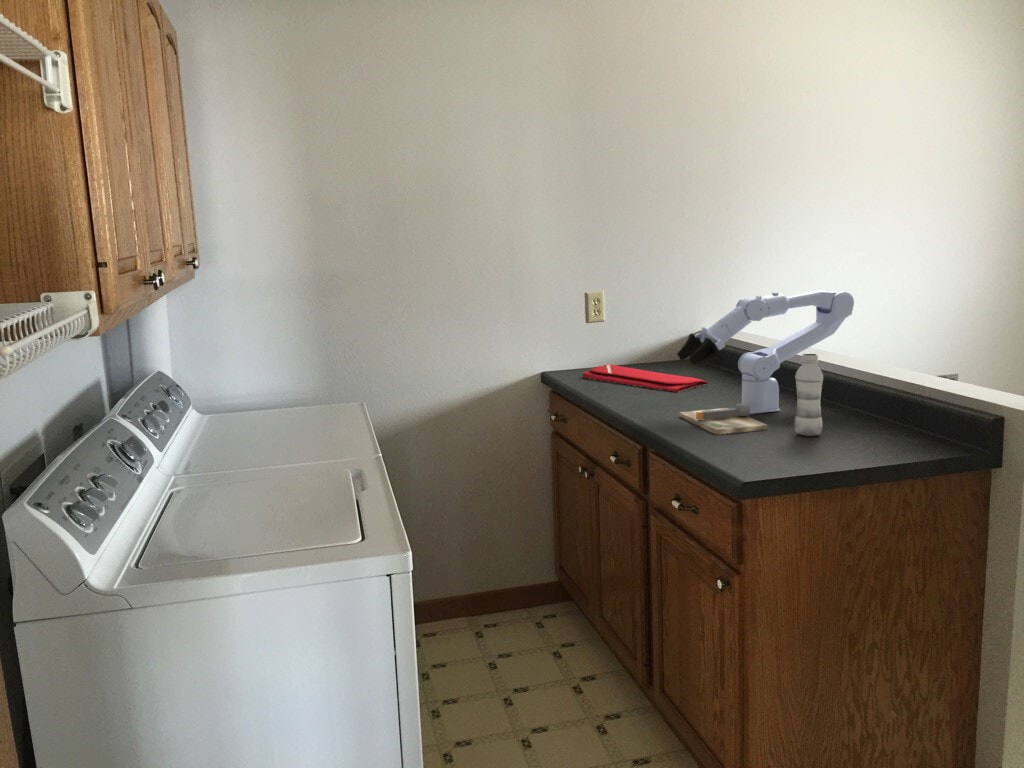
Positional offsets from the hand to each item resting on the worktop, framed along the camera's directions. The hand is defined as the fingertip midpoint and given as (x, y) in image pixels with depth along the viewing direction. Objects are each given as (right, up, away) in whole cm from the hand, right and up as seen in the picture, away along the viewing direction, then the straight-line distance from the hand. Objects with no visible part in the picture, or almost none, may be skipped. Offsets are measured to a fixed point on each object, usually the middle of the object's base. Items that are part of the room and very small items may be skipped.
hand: (684, 359), depth 243 cm
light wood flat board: (+9, -17, -6) cm, 20 cm away
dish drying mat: (-3, -7, +55) cm, 56 cm away
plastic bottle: (+26, -19, -22) cm, 39 cm away
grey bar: (+9, -15, -6) cm, 19 cm away
